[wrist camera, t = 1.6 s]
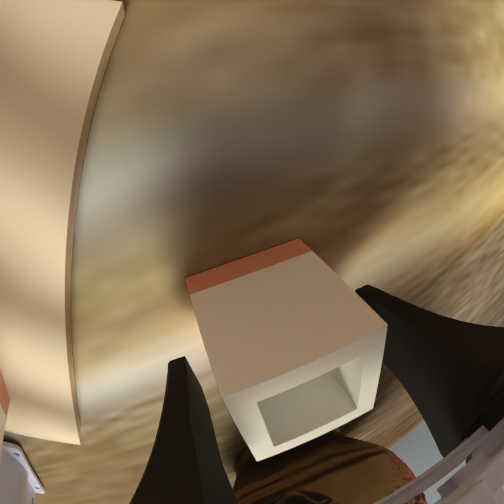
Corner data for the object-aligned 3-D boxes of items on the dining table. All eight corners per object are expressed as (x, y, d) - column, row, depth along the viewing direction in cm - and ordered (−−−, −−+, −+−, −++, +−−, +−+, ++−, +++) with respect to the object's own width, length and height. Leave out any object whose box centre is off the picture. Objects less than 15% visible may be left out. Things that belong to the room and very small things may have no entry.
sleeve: (309, 322, 16) (372, 408, 11) (217, 358, 15) (257, 461, 10) (299, 238, 13) (387, 324, 8) (184, 278, 12) (221, 397, 7)
